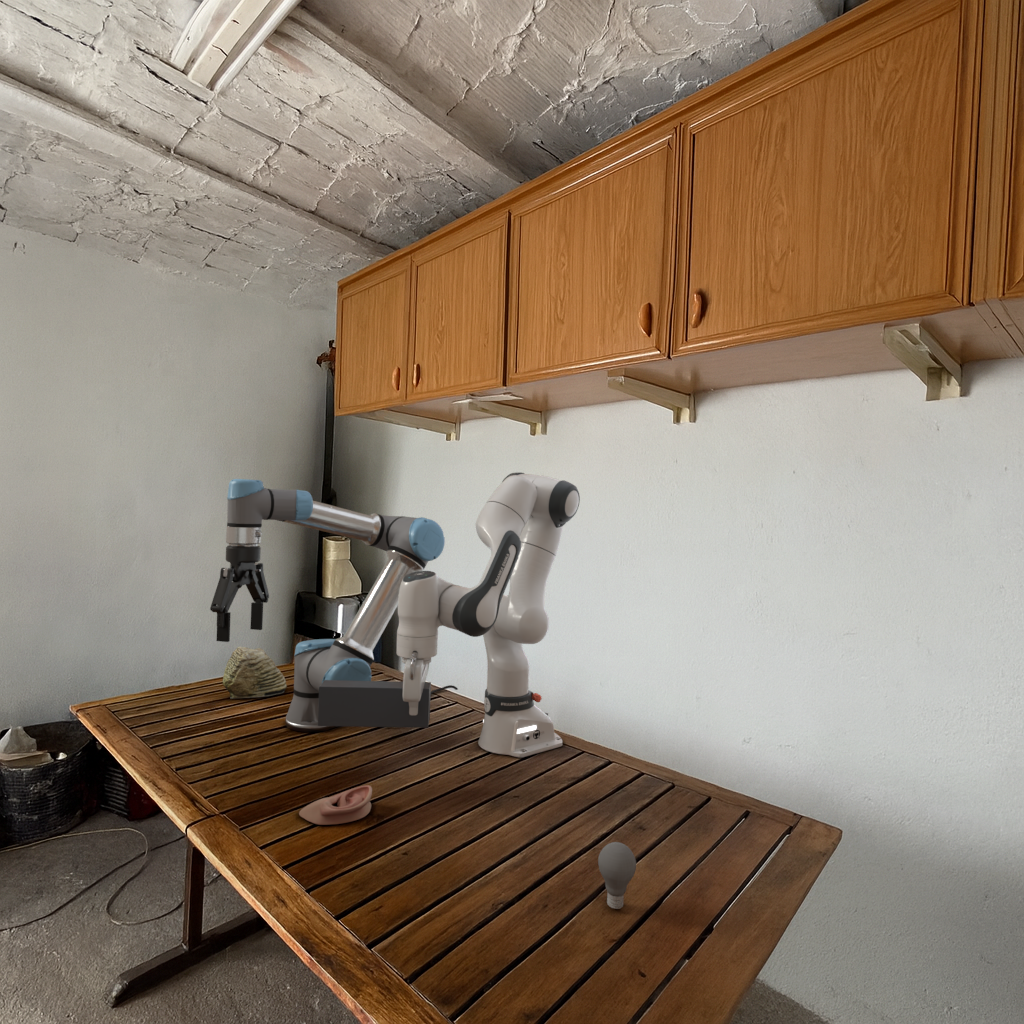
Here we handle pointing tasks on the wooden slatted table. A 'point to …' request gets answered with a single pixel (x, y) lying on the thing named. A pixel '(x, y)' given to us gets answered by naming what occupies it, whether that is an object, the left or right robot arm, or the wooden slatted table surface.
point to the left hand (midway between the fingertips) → (240, 635)
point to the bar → (370, 704)
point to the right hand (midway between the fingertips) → (415, 709)
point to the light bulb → (616, 871)
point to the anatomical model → (339, 807)
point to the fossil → (252, 674)
